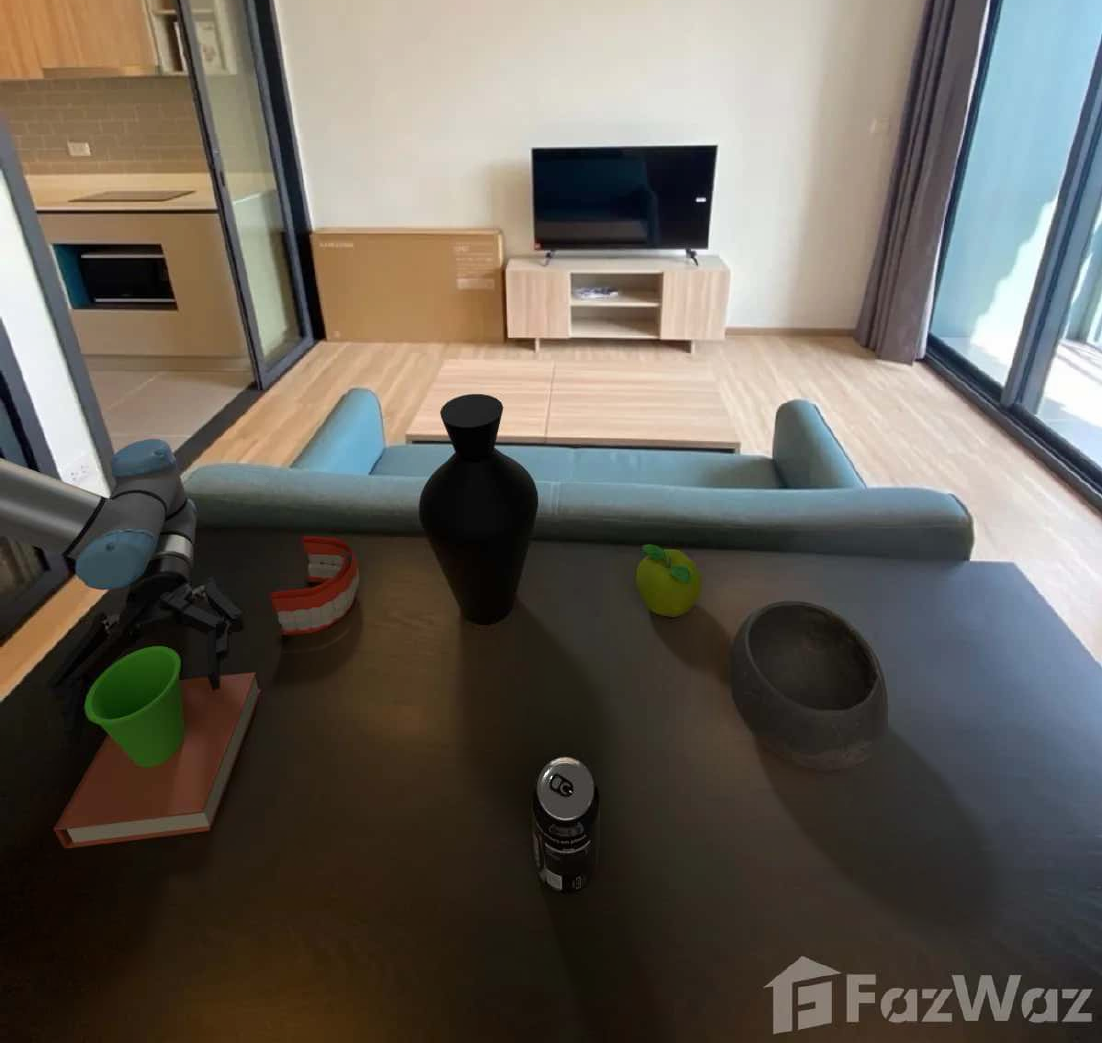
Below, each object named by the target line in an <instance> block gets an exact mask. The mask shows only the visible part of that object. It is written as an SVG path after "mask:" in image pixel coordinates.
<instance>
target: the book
mask: <svg viewBox="0 0 1102 1043" xmlns="http://www.w3.org/2000/svg"><path fill="white" fill-rule="evenodd" d="M256 675H257V672H256V671H255V672H254V671H253V672H245V673H236V674H225V675H220V688H219V689H216V690H214V691H213V690H212V687H211V684H210V681H209V678H208V676H206V677H197V678H196V677H195V678H186V679H179V682H180V691H181V701H182V710H183V720H184V736H183V740H182V743H181V744H180V746H179V748H178V749H177V750H176V752H175V753H174V754H173V755H172V756H171V757H170V758H169V759H167V760H166V761H164V762H163V763H161V764H159V765H156V766H153V767H141V766H138V765H137V764H135V763H134V762H133V760H132V759H131V758H130V757H129V756H128V755H127V754H126V753H125V752H124V751H123V750H122V748H121V747H120V746H119V745H118V744H117V743H116V742H115V741H114V740H113V739H112V738H111V736H110V735H109V734H108V733H107V734H106V737H105V738H104V740H103V742H102V743H101V745H100V747H99V749H98V750H97V753H96V754H95V756H94V758H93V759H92V761H91V763H90V765H89V767H88V768H87V770H86V772H85V773H84V775H83V777H82V778H81V781H79V784H78V786H77V787H76V789H75V791H74V792H73V794H72V796H71V798H70V800H69V802H68V803H67V805H66V806H65V808H64V810H63V811H62V814H61V815H60V817H59V818H58V821H57V822H56V824H55V826H54V828H53V831H54V833H55V834H56V836H57V838H58V840H59V842H60V843H61V845H62V846H63V848H64V850H65V849H74V848H82V847H89V846H100V845H107V844H114V843H123V842H131V841H139V840H147V839H153V838H156V839H157V838H164V837H171V836H179V835H188V834H196V833H202V832H203V833H204V832H210V831H211V829H212V826H213V824H214V822H215V819H216V815H217V813H218V811H219V808H220V805H221V802H222V800H223V796H224V794H225V791H226V789H227V785H228V783H229V780H230V778H231V775H232V772H233V769H234V766H235V763H236V761H237V759H238V755H239V754H240V750H241V748H242V745H243V741H244V739H245V736H246V734H247V731H248V728H249V726H250V723H251V720H252V717H253V714H254V712H255V709H256V707H257V704H258V701H259V698H260V695H261V693H262V688H259V686H258V683H257V680H256V677H257V676H256Z"/></svg>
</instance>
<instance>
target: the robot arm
mask: <svg viewBox="0 0 1102 1043" xmlns="http://www.w3.org/2000/svg"><path fill="white" fill-rule="evenodd" d="M110 467H111V472H112V473H111V476H112V478H114V481H115V486H114V487H113V490H112V491H111V493H110V496H109V497H106V496H102V495H100V494H98V493H95V492H93V491H90V490H87V489H84V488H81V487H79V486H77V485H73V484H71V483H68V482H65V481H63V480H60V479H58V478H56V477H55V478H54V477H53V476H49V475H47V474H44V473H41V472H40V471H39V472H38V471H36V470H34V469H31V468H28V467H25V466H22V465H20V464H17V463H15V462H12V461H9V460H7V459H5V458H1V457H0V536H1V537H5V538H8V539H10V540H14V541H16V542H20V543H23V544H26V545H30V546H33V547H36V548H39V549H42V550H46V551H49V552H52V553H55V554H58V555H61V556H64V557H68V558H70V559H72V560H75V561H76V562H75V568H74V570H75V576H76V577H77V578H78V579H79V580H80V581H81V582H83V583H84V586H86V587H89V588H91V589H95V590H99V591H112V590H117V589H122V588H124V587H127V586H128V587H127V593H126V599H125V606H124V607H123V609H122V610H121V611H120V613H117V614H114V615H109V616H107V614H106V613H105V612H100V613H98V614H96V616H95V617H94V618H93V621H92V624H91V626H90V628H89V630H88V631H87V632H86V633H85V634H84V636H83V637H82V638H81V639H80V641H79V642H78V643H77V644H76V646H75V647H74V648H73V649H72V650H71V652H70V653H69V654H68V655H67V657H66V658H65V659H64V661H63V662H62V663H61V664H60V666H58V668H57V669H56V671H55V672H54V673H53V674H52V676H51V677H50V678H49V679H48V681H47V682H46V685H47V688H48V689H49V691H50V694H51V695H52V698H53V699H54V700H61V702H60V707H59V711H60V714H61V715H62V717H63V719H64V726H63V730H62V733H63V735H64V737H65V739H66V741H67V744H68V745H69V747H70V748H71V749H73V748H75V747H78V746H81V741H82V740H81V739H82V735H83V730H84V728H85V727H84V726H85V723H86V722H85V721H86V717H87V716H86V714H85V702H86V698H87V695H88V693H89V691H90V686H91V685H93V684H94V683H95V681H96V680H97V679H98V677H99V676H100V675H101V674H102V673H103V672H104V671H105V670H106V669H108V668H109V667H110V666H111V665H113V664H114V662H115V661H116V660H117V659H118V657H119V656H121V655H122V654H123V653H124V652H125V650H126V649H128V648H132V647H133V646H134V645H135V644H136V643H137V642H138V641H139V640H140V639H141V638H142V637H143V638H146V637H150V636H151V635H153V634H155V633H158V632H161V631H166V630H169V629H172V626H174V625H175V624H177V625H180V626H182V627H184V628H187V627H188V628H191V629H193V630H195V631H197V632H200V633H201V634H204V635H206V636H207V672H206V673H207V674H206V677H208V678H209V681H210V684H211V687H212V690H213V691H214V690H216V689H219V688H220V676H221V661H222V660H225V659H228V658H229V656H230V637H231V635H233V634H234V633H235V632H236V633H239V632H242V631H243V630H245V628H246V624H245V620H244V617H243V614H242V611H241V610H240V609H239V608H238V607H237V606H236V605H235V604H234V603H232V602H231V601H230V600H229V598H227V597H226V596H225V595H224V593H222V592H221V591H220V590H219V589H218V587H217V586H216V583H215V579H214V577H213V576H211V577H207V578H205V579H204V580H203V584H201V585H200V586H197V587H195V588H193V569H194V568H193V567H194V556H195V540H196V539H195V538H196V528H197V523H198V515H197V510H196V505H195V502H194V501H193V500H192V499H191V498H189V497H188V496H187V494H186V491H185V488H184V484H183V481H182V478H181V475H180V471H179V468H178V465H177V458H176V456H175V455H174V453H173V451H172V448H171V446H170V444H169V442H167V441H166V440H163V439H160V438H148V439H143V440H138V441H135V442H132V443H130V444H128V445H125V446H123V447H122V448H120V449H118V451H116V452H115V453H114V455H113V456H111V459H110ZM196 599H200V601H202V602H204V603H206V604H207V603H208V605H209V606H210V607H211V608H212V609H213V610H214V612H215V613H217V614H218V615H219V617H218V616H216V615H214V614H212V613H209V612H207V611H204V610H202V609H200V608H198V607H195V606H194V605H193V604H194V603H195V600H196Z"/></svg>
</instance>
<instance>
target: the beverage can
mask: <svg viewBox="0 0 1102 1043" xmlns="http://www.w3.org/2000/svg"><path fill="white" fill-rule="evenodd" d="M598 786H599V785H598V783H597V781H596V779H595V777H594V776H593V774H592V772H591V771H590V770H589V769H588V768H587V766H585V764H584V763H583V762H581V761H580V760H578V759H576V758H573V757H570V756H561V757H557V758H554V759H552V760H550V761H549V762H548V763H547V764H546V765H545V766H544V767H543V769H542V770H541V771H540V772H539V774H538V775H537V777H536V779H535V781H534V784H533V786H532V791H531V802H530V804H531V820H532V821H531V822H532V823H531V824H532V840H533V841H532V842H533V855H534V863H535V867H536V871H537V873H538V875H539V877H540V878H541V880H542V881H543V883H544V884H545V885H546V886H547V887H548V888H549V889H551V890H552V891H553V892H556V893H559V894H563V895H571V894H576V893H578V892H580V891H582V890H584V888H586V887H587V886H588V885H589V884H590V883H591V881H592V880H593V879H594V876H595V874H596V872H597V869H598V864H599V857H600V834H601V832H600V830H601V828H600V826H601V824H600V823H601V796H600V790H599V787H598Z"/></svg>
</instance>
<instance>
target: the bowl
mask: <svg viewBox="0 0 1102 1043" xmlns="http://www.w3.org/2000/svg"><path fill="white" fill-rule="evenodd" d="M732 640H733V641H732V644H731V646H730V649H729V650H730V651H729V654H728V655H729V657H728V663H727V664H728V666H727V667H728V668H727V673H728V675H727V676H728V684H729V689H730V694H731V698H732V700H733V703H734V706H735V709H736V710H737V712H738V715H739V716H740V718H741V719H742V721H743V723H744V724H745V726H746V727H747V728H748V730H749V731H750V732H751V733H752V735H753V736H754V737H755V738H756V739H757V740H758V741H759V742H760V743H761V744H762V745H764V746H765V747H766V748H767V749H768V750H770V751H771V752H773V753H774V754H775V755H778V756H779V757H780V758H782V759H784V760H786V761H788V762H790V763H792V764H795V765H797V766H799V767H804V768H808V769H812V770H816V771H817V770H818V771H839V770H845V769H847V768H851V767H854V766H857V765H860V764H861V763H863V762H865V761H866V760H868V759H869V758H870V757H871V756H872V755H873V754H874V753H875V752H876V751H877V749H878V748H879V747H880V745H881V744H882V742H883V741H884V738H885V736H886V735H887V730H888V724H889V699H888V691H887V684H886V680H885V676H884V672H883V669H882V667H881V664H880V661H879V660H878V657H877V655H876V653H875V652H874V650H873V648H872V647H871V646H870V644H869V643H868V641H867V640H866V639H865V637H863V635H862V634H861V633H860V632H859V631H858V630H857V629H855V628H854V626H852V625H851V624H850V622H849V621H847V619H845V618H844V617H842V616H841V615H840V614H838V613H836V612H834V611H832V610H831V609H829V608H827V607H825V606H822V605H819V604H816V603H811V602H808V601H803V600H780V601H774V602H771V603H767V604H766V605H764V606H761V607H759V608H758V609H756V610H755V611H753V612H752V613H751V614H750V615H749V616H747V617H746V619H745V620H743V622H742V623H741V624H740V626H739V628H738V630H737V631H736V633H735V635H734V637H733V639H732Z"/></svg>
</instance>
